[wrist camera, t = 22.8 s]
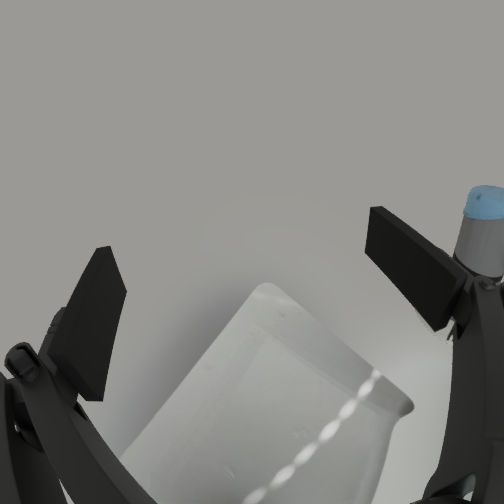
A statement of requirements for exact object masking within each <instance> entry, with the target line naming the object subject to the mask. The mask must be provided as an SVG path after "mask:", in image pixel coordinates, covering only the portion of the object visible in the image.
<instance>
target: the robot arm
mask: <svg viewBox="0 0 504 504" xmlns="http://www.w3.org/2000/svg"><path fill="white" fill-rule="evenodd" d="M463 214H464V217H463V221H462V225H461V229H460V233H459V236H458V240H457V244H456V247H455V251H454V254H453V257H449V255H448V254H447V253H446V252H444V251H443V250H442V249H440V248H438V247H436V246H435V245H433V244H432V243H431V242H430V241H428V240H427V239H426V238H424V237H423V236H422V235H421V234H419V233H418V232H417V231H415V230H414V229H413V228H411V227H410V226H409V225H407V224H406V223H405V222H403V221H402V220H401V219H399V218H398V217H397V216H395V215H394V214H392V213H391V212H390V211H388V210H387V209H385V208H384V207H382V206H379V207H370V216H369V224H368V232H367V240H366V247H365V253H366V254H367V255H368V256H369V258H370V259H371V260H372V261H373V262H374V263H375V264H376V265H377V266H378V267H379V268H380V269H381V270H382V272H383V273H384V274H385V275H386V276H387V277H388V278H389V279H390V280H391V281H392V283H393V284H394V285H395V286H396V287H397V288H398V289H399V290H400V292H401V293H402V294H403V295H404V296H405V297H406V299H407V300H408V301H409V302H410V303H411V304H412V306H413V307H414V308H415V309H416V310H417V311H418V313H419V314H420V315H421V316H422V317H423V319H424V320H425V321H426V322H427V324H428V325H429V326H430V327H431V328H432V330H433V331H434V332H437V331H439V330H441V329H443V328H445V327H447V325H448V323H449V320H450V319H451V320H452V321H454V322H455V323H454V325H453V327H452V329H451V331H450V332H449V334H448V336H447V340H448V341H449V339H450V337H451V336H452V335H453V339H452V342H453V363H452V381H451V393H450V402H449V411H448V418H447V425H446V431H445V436H444V442H443V446H442V451H441V456H440V460H439V464H438V467H437V469H436V471H435V473H434V474H433V476H432V477H431V478H430V480H429V482H428V484H427V486H426V488H425V491H424V494H423V497H422V499H421V500H418V501H416V502H413V503H410V504H504V282H503V283H501V280H502V277H503V275H504V188H500V187H496V186H487V185H484V186H476V187H474V188H473V189H471V191H470V192H469V194H468V198H467V202H466V206H465V208H464V211H463ZM126 293H127V291H126V288H125V285H124V283H123V280H122V278H121V275H120V272H119V270H118V267H117V264H116V261H115V258H114V256H113V253H112V250H111V247H110V246H106V247H101V248H97V249H96V251H95V252H94V254H93V256H92V257H91V259H90V261H89V263H88V265H87V266H86V268H85V270H84V272H83V274H82V276H81V278H80V280H79V282H78V284H77V286H76V288H75V290H74V292H73V294H72V296H71V298H70V300H69V302H68V304H67V306H66V307H62V308H61V309H60V310H59V311H58V312H57V314H56V315H55V316H54V318H53V320H52V323H51V325H50V326H51V327H49V329H48V331H47V334H46V336H45V338H44V341H43V343H42V346H41V348H40V350H39V353H38V355H37V354H36V353H35V351H34V350H33V348H32V347H31V346H30V344H29V343H26V342H23V343H19V344H17V345H15V346H14V347H12V348H11V349H10V351H9V352H8V353H7V355H6V358H5V367H6V368H7V369H8V371H9V372H10V373H11V374H12V375H13V376H14V377H15V378H12V379H8V380H7V379H6V377H5V376H4V375H3V374H2V373H1V372H0V504H68V503H67V501H66V498H65V495H64V493H63V490H62V487H61V484H60V481H61V483H62V484H63V486H64V488H65V490H66V491H67V493H68V495H69V496H70V498H71V499H72V501H73V502H74V504H157V503H156V502H155V501H154V500H153V499H152V498H151V497H150V496H149V495H148V494H147V492H146V491H145V490H144V489H143V488H142V487H141V486H140V485H139V484H138V483H137V482H136V480H135V479H134V478H133V477H132V476H131V475H130V473H129V472H128V471H127V470H126V469H125V467H124V466H123V465H122V464H121V463H120V461H119V460H118V459H117V458H116V456H115V455H114V454H113V452H112V451H111V450H110V448H109V447H108V446H107V444H106V443H105V442H104V440H103V439H102V437H101V436H100V434H99V433H98V432H97V430H96V428H95V427H94V425H93V424H92V422H91V421H90V419H89V418H88V416H87V415H86V413H85V411H84V410H83V408H82V406H81V405H80V404H79V403H78V402H77V397H78V393H79V394H80V395H81V396H82V397H83V398H84V399H85V400H86V401H103V397H104V391H105V385H106V380H107V374H108V369H109V364H110V359H111V354H112V349H113V345H114V340H115V336H116V331H117V327H118V323H119V319H120V315H121V311H122V308H123V304H124V300H125V297H126ZM15 425H16V428H17V431H16V429H15ZM59 479H60V481H59ZM472 491H473V494H472V498H471V501H467V500H464V499H463V497H464V496H465V495H466V494H468V493H470V492H472Z"/></svg>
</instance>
